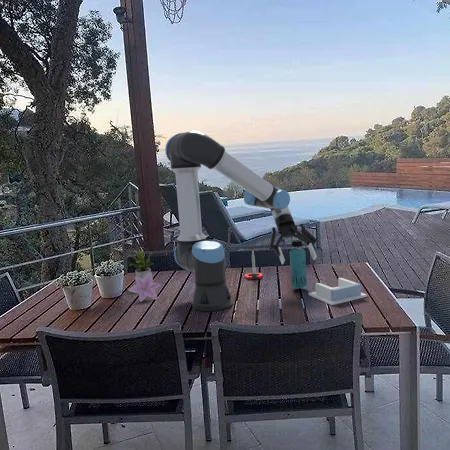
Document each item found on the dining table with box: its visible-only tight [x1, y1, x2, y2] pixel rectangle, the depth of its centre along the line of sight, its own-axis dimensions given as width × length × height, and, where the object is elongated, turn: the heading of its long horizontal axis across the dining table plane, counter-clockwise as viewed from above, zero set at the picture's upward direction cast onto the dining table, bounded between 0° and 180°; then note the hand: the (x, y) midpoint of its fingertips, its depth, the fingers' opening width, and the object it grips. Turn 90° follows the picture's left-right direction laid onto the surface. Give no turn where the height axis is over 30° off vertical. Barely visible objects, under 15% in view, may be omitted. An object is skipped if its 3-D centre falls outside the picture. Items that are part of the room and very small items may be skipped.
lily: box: [128, 271, 161, 303], centre depth 177 cm, size 12×12×10 cm
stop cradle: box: [308, 277, 368, 306], centre depth 162 cm, size 16×14×5 cm
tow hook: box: [244, 250, 264, 281], centre depth 196 cm, size 8×13×9 cm
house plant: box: [127, 249, 155, 279], centre depth 200 cm, size 14×14×16 cm
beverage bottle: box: [289, 239, 308, 289], centre depth 172 cm, size 6×7×20 cm
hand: (299, 260), depth 172 cm, fingers open, 13 cm apart
